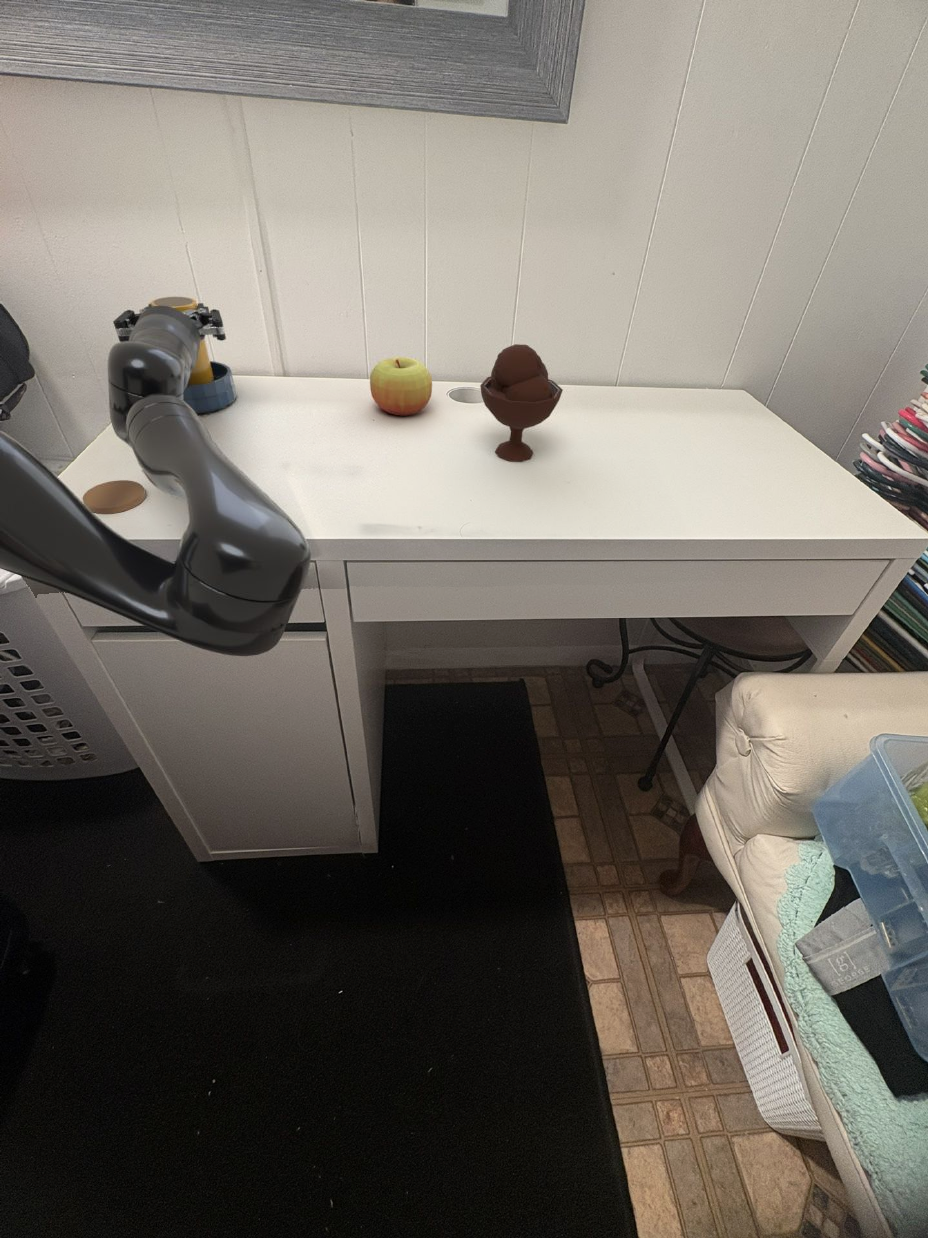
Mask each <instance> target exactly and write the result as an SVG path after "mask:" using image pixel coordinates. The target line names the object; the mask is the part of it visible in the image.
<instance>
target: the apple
mask: <svg viewBox="0 0 928 1238" xmlns="http://www.w3.org/2000/svg"><path fill="white" fill-rule="evenodd" d="M369 388H370V395H371V397H372V399H373V401H374V402H375V404H376V405H377V406H378V407H379V408H380V409H382V410H383V411H384V412H385V413H386V412H387V413H388V414H392V415H394V416H411V415H414V414H416V413H420V411H421V410H423V409H425V407H426V406H427V405H428V403H429V401H430V400H431V398H432V393H433V392H432V391H433V379H432V375H431V374H430V371H429V370H428V369H427V367H426V366H425V365H424V364H423V362H420V361H418V360H416V359H414V358H410V357H403V356H402V357H401V356H398V357H395V356H394V357H389V358H385V359H382V360H381V361H379V362H378V363H377V364H376V365H375V366H374V367H373V368H372V370H371V373H370V375H369Z"/></svg>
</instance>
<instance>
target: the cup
mask: <svg viewBox="0 0 928 1238" xmlns="http://www.w3.org/2000/svg"><path fill="white" fill-rule="evenodd" d="M150 304H151V306H152V307H153V306H169V307H172V308H175V309H177V310H179V311H180V312H183V311H185V310H188V309H191V310H196V308H197V305H198V302H197V300H196V299H194V298H192V297H188V296H187V297H186V296H164V297H159V298H155V299H152V300H151V301H150ZM210 359H211V358H210V355H209V351H208V347H207V343H206V337H205V338H204V339H203V340H201V341H200V348H199V352H198V359H197V361H196V365H195V368H194V370H193V372H192V374H191V376H190V380H189V383H188V385H196V384H204V383H208V382H212V381H213V380H214V376H213V372H212V368H211V363H210V361H211V360H210Z"/></svg>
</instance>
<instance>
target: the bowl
mask: <svg viewBox="0 0 928 1238" xmlns="http://www.w3.org/2000/svg"><path fill="white" fill-rule="evenodd" d="M210 363H211V368H212V372H213V376H214V380H213V381H212V382H208V383H204V384H196V385H187V387H186V389H185V390H184V398H183V401H184V402H186V403H187V404H188V405H189V406H190V407H191V408H192V409H193V410H194V411H195V412H196V414H197V415H199V414H207V413H212V412H216V411H220V410H222V409H224V408H226V407H228V406H229V405H230V404H231V403H232V402H234V401H235V400H236V398H237V392H236V391H237V390H236V387H235V381H234V377H233V373H232V372H233V371H232V369H231V367H230V366H228V365H227V364H225V363H223V362H219V361H215V360H214V361H213V360H210Z"/></svg>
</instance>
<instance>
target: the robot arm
mask: <svg viewBox="0 0 928 1238" xmlns="http://www.w3.org/2000/svg"><path fill="white" fill-rule="evenodd" d="M138 312H139V313H136V312H135V311H134V310H131V309H127V310H124V311H123V312H121V314H119V316H118V317H116V318H115V319H114V320H113V321H112V322H113V326H114V329H115V332H116V335H117V337H118V341H119V342H117V343H114V344H113V345H112V347H111V348H110V350H109V352H108V357H107V381H108V382H107V385H108V402H109V403H108V407H109V409H108V410H109V419H110V422H111V427H112V429H113V432H114V433H115V435H116V437H118V438H119V439H120V440H121V441H122V442H124V443H125V444H126V445H127V446H128V447H130V448H131V449H132V452H133V455H134V456H135V458H136V461H137V463H138V466H139V467H140V469H141V471H142V472H143V474H144V476H145V477H146V478H147V480H148V481H149V482H150V483H151V484H152V485H153V486H154V487H155V488H156V489H158V490H159V491H160V492H162V493H164V494H165V495H167V496H170V497H172V498H175V499H177V500H178V499H179V500H181V501H186V503H187V508H188V515H189V516H188V524H187V527H186V529H185V531H184V532H183V534H182V536H181V538H180V542H179V546H178V548H177V549H178V550H177V554H176V556H175V561H173V560H170V559H168V558H166V557H163V556H161V555H159V554H157V553H155V552H153V551H150V550H148V549H147V548H144V547H142V546H140V545H138V544H136V543H134V542H133V541H131V540H129V539H127V538H125V537H124V536H123V535H121V534H119V533H118V532H117V531H115V530H113V529H112V528H111V527H110V526H109V525H108V524H106V523H105V522H103V520H101V519H100V518H99V517H98V516H97V515H96V513H94V512H91V511H90V510H89V509H88V508H87V507H86V506H85V505H84V503H83V501H81V499H80V498H79V497H78V496H77V495H76V494H75V493H74V492H73V491H72V490H71V489H70V488H69V486H67V484H65V483H64V482H63V480H61V479H60V478H59V477H58V476H57V474H56V473H54V472H53V471H52V470H51V469H50V467H48V466H47V465H46V464H45V463H44V462H43V461H42V460H40V458H38V457H37V456H36V455H35V454H34V453H33V452H32V451H30V450H29V449H28V448H27V447H25V446H24V445H23V444H21V443H20V442H19V441H18V440H17V439H15V438H13V437H12V436H11V435H9V434H8V433H7V432H5V431H3V430H2V429H0V570H3V571H6V572H8V573H12V574H14V575H18V576H20V577H23V578H25V579H28V580H31V581H34V582H37V583H39V584H41V585H45V586H48V587H51V588H54V589H57V590H59V591H62V592H64V593H67V594H69V595H72V596H74V597H77V598H78V599H82V600H84V601H86V602H89V603H91V604H93V605H95V606H98V607H100V608H102V609H105V610H107V611H109V612H112V613H114V614H117V615H118V616H121V617H123V618H126V619H128V620H130V621H133V622H135V623H138V624H139V625H141V626H145V627H146V628H149V629H151V630H154V631H155V632H157V633H161V634H162V635H164V636H167V637H170V638H171V639H174V640H178V641H179V642H182V643H185V644H187V645H190V646H192V647H195V648H199V649H202V650H204V651H209V652H212V653H216V654H221V655H224V656H232V657H233V656H234V657H252V656H258V655H261V654H262V655H263V654H264V653H267V652H269V651H271V650H272V649H274V647H276V646H277V645H278V643H279V642H280V641H281V639H282V637H283V635H284V633H285V631H286V628H287V626H288V623H289V621H290V618H291V616H292V614H293V611H294V609H295V607H296V604H297V602H298V600H299V597H300V595H301V592H302V590H303V587H304V584H305V582H306V579H307V576H308V575H309V570H310V565H311V557H312V554H311V553H312V552H311V547H310V544H309V542H308V540H307V539H306V537H305V535H304V534H303V532H302V531H301V529H300V528H299V527H298V525H297V524H296V523H295V522H294V520H293V519H292V518H290V515H288V514H287V513H286V512H285V511H284V510H283V509H282V508H281V507H280V506H279V505H278V504H277V503H276V502H275V501H274V500H273V499H272V498H271V497H270V496H269V495H268V494H267V493H265V492H264V490H263V489H262V488H261V487H259V486H258V485H257V484H256V483H255V482H254V481H253V480H252V479H251V478H250V477H248V475H247V474H246V473H244V472H243V471H242V470H241V469H240V468H239V467H238V466H237V465H235V464H234V463H233V462H232V461H231V460H230V459H229V458H228V457H227V456H226V455H225V454H224V453H223V452H222V451H221V449H220V448H219V446H218V445H217V443H216V442H215V440H214V439H213V437H212V436H211V434H210V432H209V431H208V429H207V428H206V426H205V424H204V423H203V421H202V419H201V418H200V416H199V414H196V412H195V411H194V410H193V409H192V408H191V407H190V406H189V405H188V404H187V403H186V402H184V401H183V398H184V390H185V389H186V387H187V385H188V383H189V380H190V376H191V374H192V372H193V370H194V368H195V365H196V361H197V359H198V352H199V348H200V341H201V340H203V339H204V338H205V339H206V336H212V338H216V340H217V341H225V340H227V337H226V332H225V327H224V322H223V319H222V316H221V313H220V310H219V309H215V308H213V309H210V308H209V307H208V306H205V305H204V302H199V303H198V302H197V308H196V310H191V309H188V310H185V311H183V312H180V311H179V310H177V309H175V308H172V307H169V306H153V307H152V306H151V303H148V305H147V306H144V307H143V308H141V309H139V310H138Z"/></svg>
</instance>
